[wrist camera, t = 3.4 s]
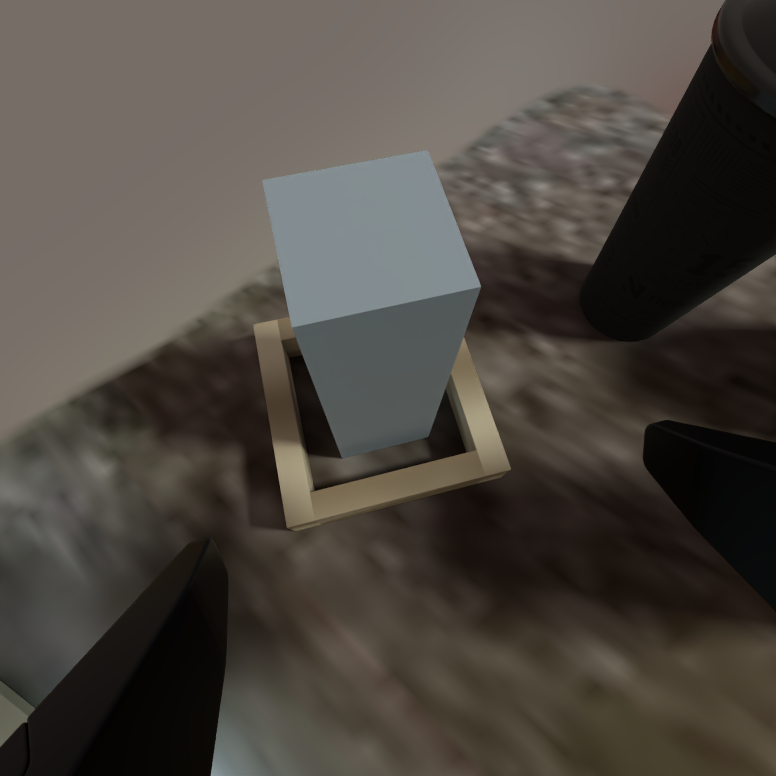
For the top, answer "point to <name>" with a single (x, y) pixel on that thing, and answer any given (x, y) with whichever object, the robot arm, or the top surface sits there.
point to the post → (374, 292)
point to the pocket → (381, 490)
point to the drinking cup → (698, 188)
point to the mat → (11, 711)
